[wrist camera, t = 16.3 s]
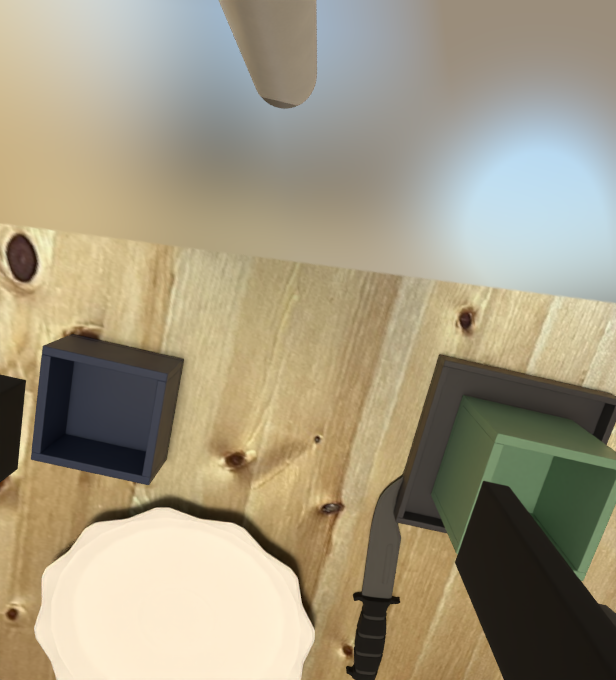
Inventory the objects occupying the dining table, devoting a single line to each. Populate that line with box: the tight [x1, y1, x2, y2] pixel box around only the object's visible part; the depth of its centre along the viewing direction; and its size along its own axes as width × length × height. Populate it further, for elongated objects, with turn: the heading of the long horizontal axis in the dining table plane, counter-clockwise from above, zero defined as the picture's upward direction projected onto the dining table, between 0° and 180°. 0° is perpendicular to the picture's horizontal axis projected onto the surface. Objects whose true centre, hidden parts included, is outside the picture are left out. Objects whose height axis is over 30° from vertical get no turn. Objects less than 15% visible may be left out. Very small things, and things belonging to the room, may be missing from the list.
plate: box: [34, 507, 315, 680], centre depth 51 cm, size 29×29×2 cm
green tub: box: [431, 395, 616, 581], centre depth 42 cm, size 11×11×9 cm
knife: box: [346, 476, 404, 680], centre depth 50 cm, size 25×2×5 cm
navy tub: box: [31, 334, 184, 485], centre depth 44 cm, size 11×11×5 cm
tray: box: [393, 355, 616, 533], centre depth 46 cm, size 17×17×2 cm
